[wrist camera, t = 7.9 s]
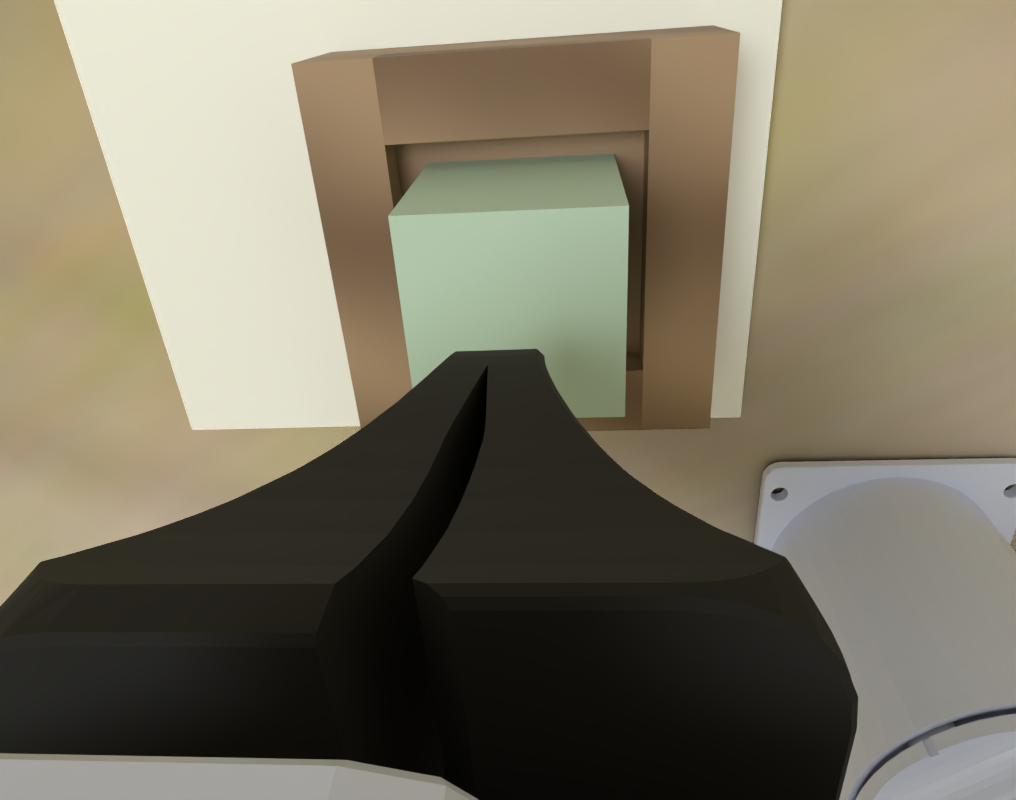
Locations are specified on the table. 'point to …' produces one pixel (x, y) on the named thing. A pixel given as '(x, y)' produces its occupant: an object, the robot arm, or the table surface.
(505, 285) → the sage block
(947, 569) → the robot arm
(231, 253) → the cream board
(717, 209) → the walnut socket base
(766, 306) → the table surface
